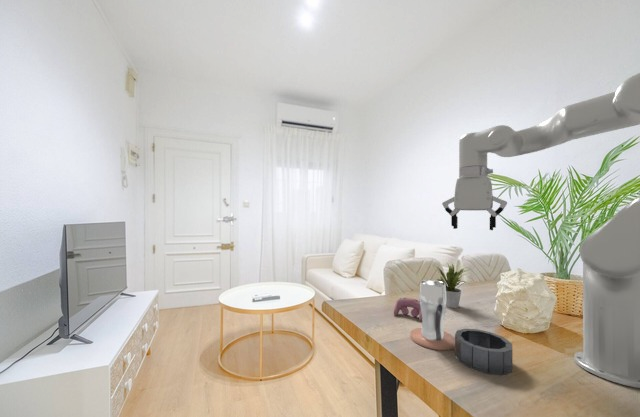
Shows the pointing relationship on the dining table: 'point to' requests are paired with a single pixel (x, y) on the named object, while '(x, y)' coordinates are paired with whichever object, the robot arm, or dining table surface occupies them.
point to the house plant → (452, 286)
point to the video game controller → (408, 302)
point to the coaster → (443, 346)
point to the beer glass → (432, 309)
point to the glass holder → (483, 351)
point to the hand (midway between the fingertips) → (472, 229)
